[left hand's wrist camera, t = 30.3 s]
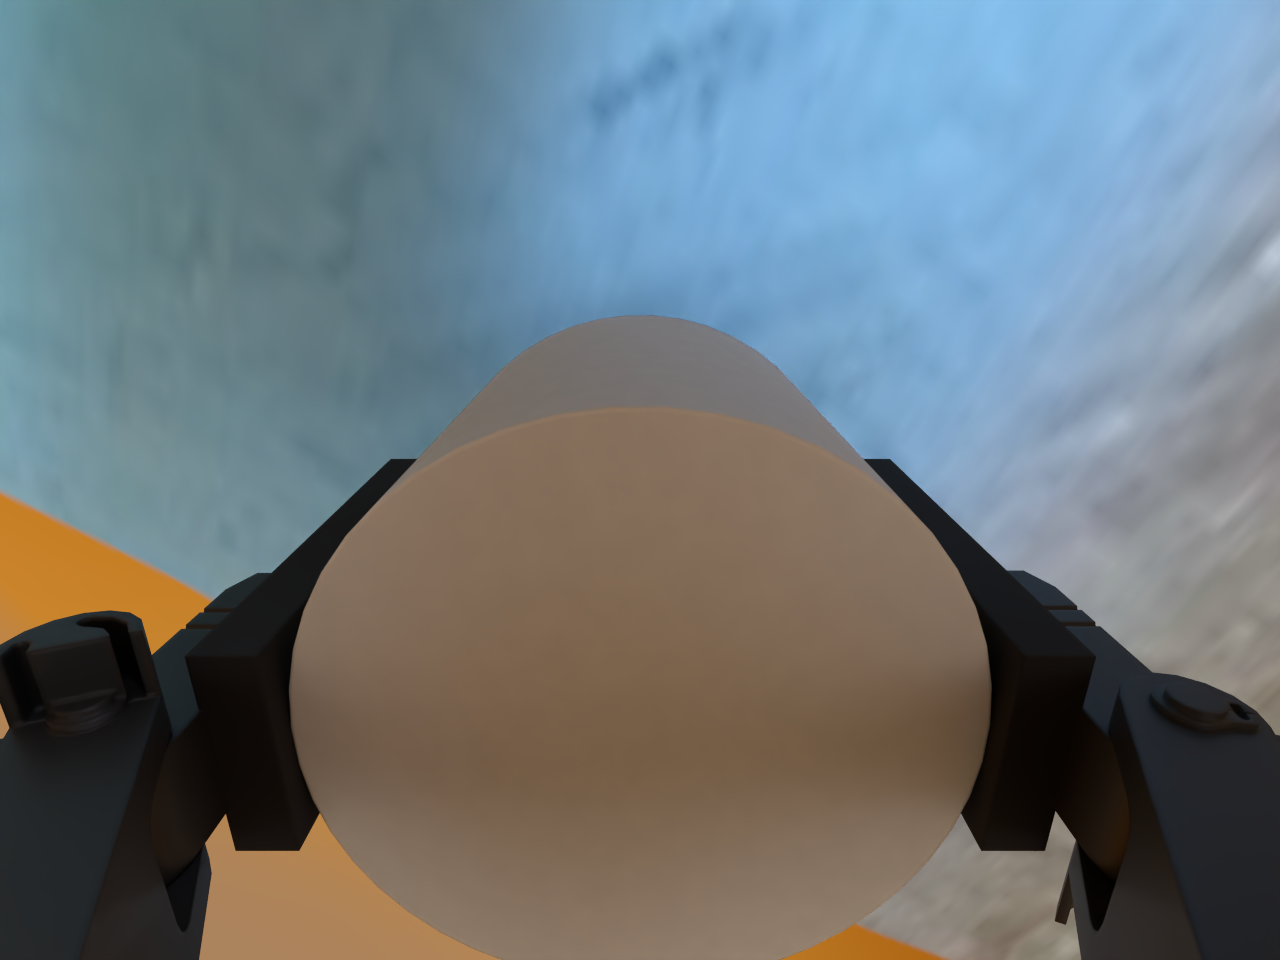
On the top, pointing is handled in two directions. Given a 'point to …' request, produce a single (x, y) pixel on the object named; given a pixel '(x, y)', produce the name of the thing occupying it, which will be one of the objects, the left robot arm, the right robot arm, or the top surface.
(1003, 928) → the top surface
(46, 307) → the top surface
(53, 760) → the left robot arm
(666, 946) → the can
